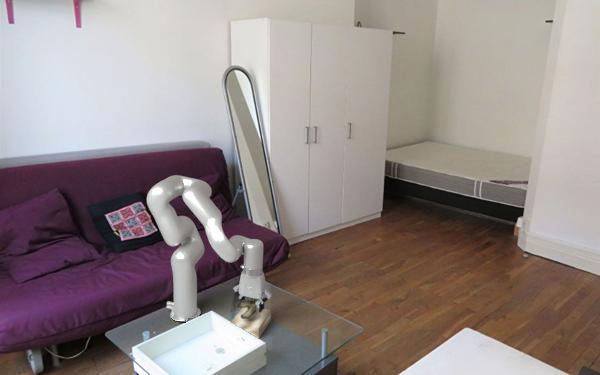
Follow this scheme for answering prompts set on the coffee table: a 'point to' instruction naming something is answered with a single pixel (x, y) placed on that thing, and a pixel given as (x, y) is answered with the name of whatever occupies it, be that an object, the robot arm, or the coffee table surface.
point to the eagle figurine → (248, 307)
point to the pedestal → (253, 321)
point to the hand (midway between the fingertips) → (251, 308)
